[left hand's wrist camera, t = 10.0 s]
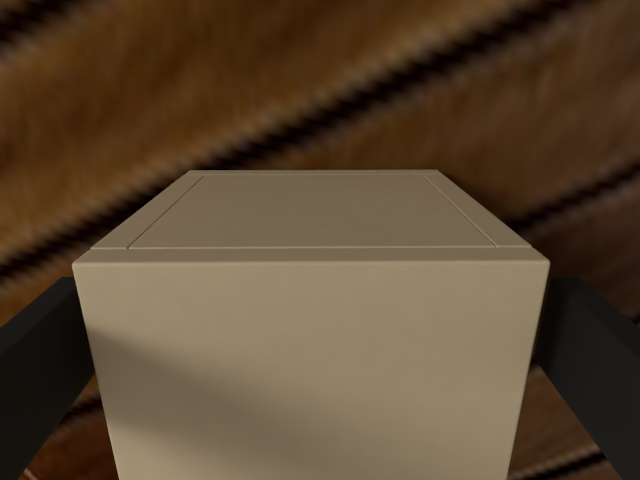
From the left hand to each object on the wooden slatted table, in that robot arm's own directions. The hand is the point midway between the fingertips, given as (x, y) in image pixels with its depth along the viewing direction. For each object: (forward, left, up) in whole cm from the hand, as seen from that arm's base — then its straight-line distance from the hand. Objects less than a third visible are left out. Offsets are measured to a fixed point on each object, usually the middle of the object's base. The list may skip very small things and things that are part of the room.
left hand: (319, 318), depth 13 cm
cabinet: (+3, +5, -8) cm, 10 cm away
